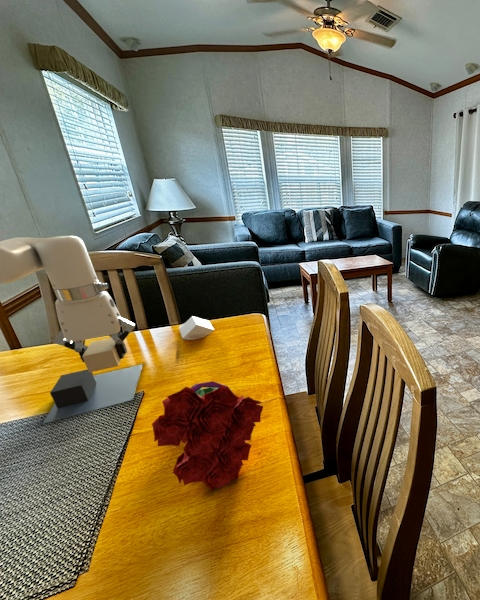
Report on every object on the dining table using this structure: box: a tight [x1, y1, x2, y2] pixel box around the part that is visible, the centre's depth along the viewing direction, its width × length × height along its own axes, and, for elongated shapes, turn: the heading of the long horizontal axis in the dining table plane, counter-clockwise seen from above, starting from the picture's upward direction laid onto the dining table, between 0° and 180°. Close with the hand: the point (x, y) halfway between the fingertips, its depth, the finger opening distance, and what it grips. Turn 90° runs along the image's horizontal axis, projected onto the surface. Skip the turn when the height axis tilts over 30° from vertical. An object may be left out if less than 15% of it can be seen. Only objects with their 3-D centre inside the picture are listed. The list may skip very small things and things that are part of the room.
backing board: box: [41, 363, 144, 425], centre depth 82 cm, size 16×18×1 cm
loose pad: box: [82, 337, 122, 373], centre depth 80 cm, size 6×8×4 cm
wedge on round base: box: [178, 315, 215, 341], centre depth 110 cm, size 9×7×13 cm
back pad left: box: [49, 368, 96, 408], centre depth 80 cm, size 6×8×4 cm
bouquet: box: [151, 380, 264, 491], centre depth 67 cm, size 20×16×30 cm
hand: (106, 359), depth 81 cm, fingers closed on loose pad, 5 cm apart
